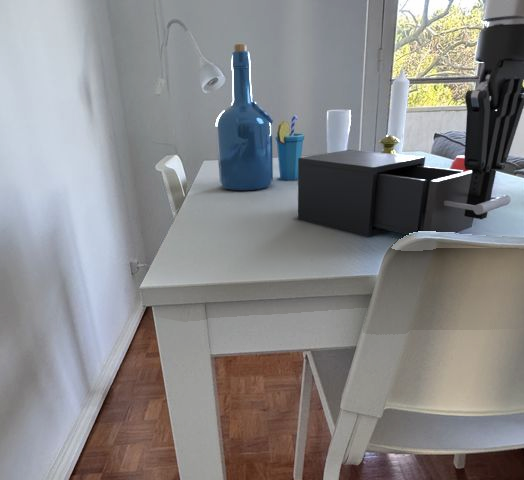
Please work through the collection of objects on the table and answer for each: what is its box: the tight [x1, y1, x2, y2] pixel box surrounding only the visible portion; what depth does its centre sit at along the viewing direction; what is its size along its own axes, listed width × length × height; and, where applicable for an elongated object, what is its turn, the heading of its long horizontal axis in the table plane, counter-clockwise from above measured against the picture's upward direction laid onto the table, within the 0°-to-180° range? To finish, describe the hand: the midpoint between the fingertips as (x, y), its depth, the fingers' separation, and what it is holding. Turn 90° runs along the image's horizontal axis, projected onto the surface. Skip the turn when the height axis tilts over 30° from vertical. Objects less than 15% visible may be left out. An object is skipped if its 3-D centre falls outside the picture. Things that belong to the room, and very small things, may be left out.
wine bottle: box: [215, 43, 275, 192], centre depth 110 cm, size 14×13×30 cm
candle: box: [387, 66, 411, 155], centre depth 132 cm, size 7×7×25 cm
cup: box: [274, 114, 305, 181], centre depth 123 cm, size 14×8×15 cm, turn 163°
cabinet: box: [297, 149, 426, 237], centre depth 84 cm, size 17×14×11 cm
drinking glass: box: [325, 109, 351, 153], centre depth 138 cm, size 7×7×15 cm
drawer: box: [372, 165, 512, 235], centre depth 75 cm, size 22×13×9 cm, turn 40°
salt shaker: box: [378, 134, 399, 154], centre depth 120 cm, size 7×7×10 cm
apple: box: [449, 154, 471, 172], centre depth 107 cm, size 8×8×8 cm
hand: (475, 216), depth 70 cm, fingers closed
